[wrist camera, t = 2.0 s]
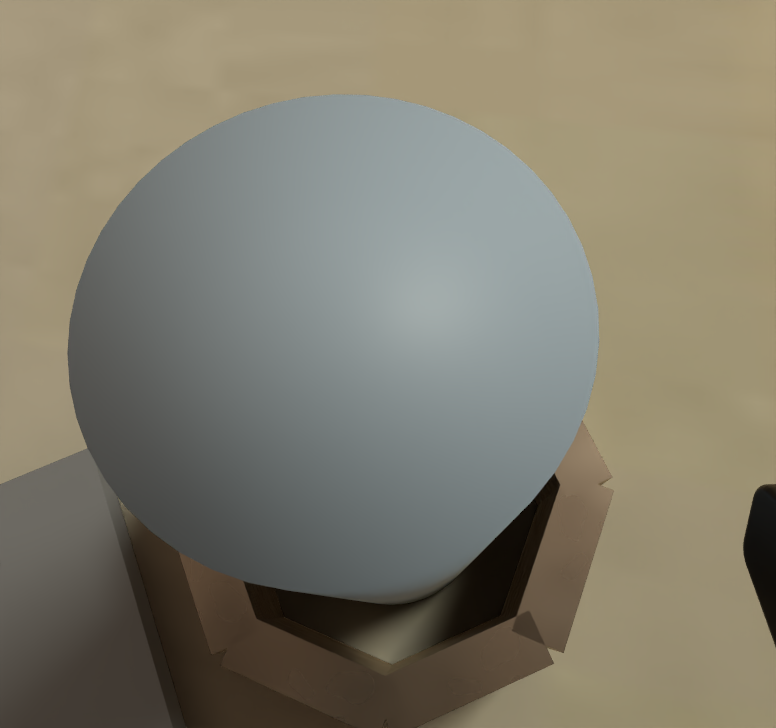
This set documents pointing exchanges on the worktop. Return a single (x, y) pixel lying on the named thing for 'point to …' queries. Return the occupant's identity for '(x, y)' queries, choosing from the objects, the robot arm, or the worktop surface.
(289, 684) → the bronze collar
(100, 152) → the worktop surface
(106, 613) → the gray base plate
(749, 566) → the robot arm
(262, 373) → the slate peg
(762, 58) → the worktop surface
